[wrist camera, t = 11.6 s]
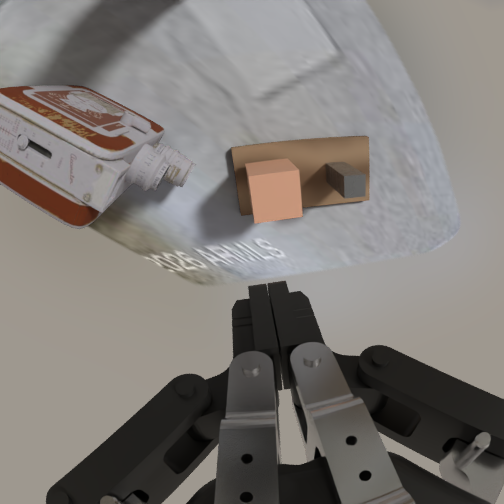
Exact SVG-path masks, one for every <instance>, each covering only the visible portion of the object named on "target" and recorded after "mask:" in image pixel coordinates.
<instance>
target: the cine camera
mask: <svg viewBox="0 0 504 504" xmlns="http://www.w3.org/2000/svg"><path fill="white" fill-rule="evenodd" d="M163 134H164V128H163V127H161V126H160V125H158V124H156V123H155V122H153V121H151V120H149V119H147V118H146V117H144V116H142V115H140V114H138V113H136V112H134V111H132V110H131V109H129V108H127V107H125V106H123V105H121V104H119V103H117V102H115V101H113V100H111V99H109V98H107V97H105V96H103V95H101V94H99V93H97V92H95V91H93V90H91V89H89V88H86V87H83V86H74V85H43V86H19V87H8V88H1V89H0V185H3V186H4V187H6V188H7V189H9V190H10V191H12V192H13V193H15V194H16V195H18V196H19V197H21V198H22V199H24V200H25V201H27V202H29V203H30V204H32V205H33V206H35V207H36V208H38V209H40V210H41V211H43V212H45V213H46V214H48V215H49V216H51V217H53V218H55V219H56V220H58V221H60V222H61V223H63V224H65V225H67V226H70V227H72V228H77V229H81V228H84V227H87V226H88V225H90V224H91V223H93V222H94V221H95V220H96V219H97V218H98V217H99V216H100V215H101V214H102V213H103V212H104V211H105V210H106V209H107V208H108V207H109V206H110V205H111V204H112V203H113V202H114V201H115V200H116V199H117V198H118V197H119V196H120V195H121V194H122V193H123V192H124V191H125V190H126V189H127V188H128V187H130V186H131V185H132V184H136V185H138V186H140V187H142V190H144V191H146V190H148V189H152V190H154V191H156V189H157V188H158V186H159V185H160V183H161V181H162V180H163V179H164V180H165V181H167V182H169V183H171V184H174V185H176V186H180V187H182V186H183V185H184V183H185V182H186V180H187V178H188V177H189V175H190V173H191V172H192V170H193V168H194V166H195V165H196V164H194V163H193V161H191V160H190V159H188V158H186V156H184V155H183V154H181V153H179V151H177V150H173V149H171V148H170V146H169V145H167V146H165V145H163V144H161V143H160V144H158V143H159V141H160V139H161V138H162V136H163Z"/></svg>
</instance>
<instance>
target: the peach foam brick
mask: <svg viewBox="0 0 504 504" xmlns="http://www.w3.org/2000/svg"><path fill="white" fill-rule="evenodd" d="M245 166H246V173H247V180H248V187H249V194H250V202H251V207H252V212H253V217H254V222H255V223H262V222H269V221H276V220H283V219H290V218H297V217H303V214H302V200H301V187H300V175H299V169H298V168H297V167H296V166H295V165H294V164H293V163H292V162H291V161H290V160H289V159H288V158H286V159H277V160H269V161H261V162H254V163H247V164H245Z"/></svg>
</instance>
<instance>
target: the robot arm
mask: <svg viewBox="0 0 504 504" xmlns="http://www.w3.org/2000/svg"><path fill="white" fill-rule="evenodd" d="M248 288H249V297H250V299H243V300H237V301H236V303H235V304H234V306H233V308H232V327H233V329H232V331H233V360H232V362H231V364H230V366H229V368H228V369H227V370H226V371H224V372H223V373H221V374H220V375H217V376H215V377H212V378H209V379H206V380H205V379H204V378H202V377H201V376H199V375H196V374H184V375H180V376H178V377H176V378H174V379H173V380H172V381H170V382H169V383H168V384H167V385H166V386H165V387H164V388H163V389H162V390H161V391H160V392H159V393H158V394H157V395H155V396H154V397H153V398H152V399H151V400H150V401H149V402H148V403H147V404H146V405H145V406H144V407H142V408H141V409H140V410H139V411H138V412H137V413H136V414H135V415H134V416H133V417H131V418H130V419H129V420H128V421H127V422H126V423H125V424H124V425H123V426H121V427H120V428H119V429H118V430H117V431H116V432H115V433H114V434H113V435H111V436H110V437H109V438H108V439H107V440H106V441H105V442H104V443H102V444H101V445H100V446H99V447H98V448H97V449H95V450H94V451H93V452H92V453H91V454H90V455H89V456H87V457H86V458H85V459H84V460H83V461H82V462H81V463H79V464H78V465H77V466H76V467H75V468H74V469H72V470H71V471H70V472H69V473H68V474H66V475H65V476H64V477H63V478H62V479H60V480H59V481H58V482H57V483H56V484H54V485H53V486H52V487H51V488H50V489H49V491H48V493H47V496H46V504H161V503H162V502H163V501H164V500H165V499H166V498H168V497H169V496H170V495H171V494H172V493H173V492H174V490H176V488H177V487H178V486H179V485H180V484H181V483H182V482H183V481H184V480H185V479H186V478H187V477H188V476H189V475H190V474H191V473H192V472H193V471H194V470H195V468H197V467H198V465H199V464H200V463H201V462H202V461H203V460H204V459H205V458H206V457H207V456H208V455H209V453H210V452H211V451H212V450H213V449H214V448H215V447H216V446H217V444H218V443H219V446H218V460H217V473H216V478H215V479H214V480H212V481H210V482H208V483H207V484H205V485H204V486H203V487H202V488H200V489H199V490H198V491H197V492H196V493H195V494H194V496H193V497H192V498H191V499H190V500H189V501H188V502H187V503H186V504H495V502H496V500H497V498H498V496H499V494H500V491H501V489H502V487H503V485H504V399H501V398H499V397H497V396H495V395H492V394H490V393H488V392H486V391H483V390H481V389H479V388H477V387H474V386H472V385H470V384H468V383H466V382H463V381H461V380H458V379H457V378H454V377H452V376H450V375H448V374H446V373H443V372H441V371H439V370H437V369H435V368H433V367H430V366H428V365H426V364H424V363H422V362H419V361H418V360H415V359H413V358H411V357H409V356H407V355H405V354H402V353H400V352H398V351H396V350H394V349H392V348H390V347H387V346H383V345H375V346H371V347H368V348H367V349H365V350H364V351H363V352H362V353H361V355H360V356H347V355H340V354H337V353H335V352H333V351H331V349H330V348H329V347H327V346H326V345H325V343H324V340H323V338H322V335H321V332H320V329H319V326H318V324H317V321H316V318H315V316H314V312H313V310H312V308H311V304H310V302H309V299H308V297H306V296H305V295H304V294H303V293H302V292H301V291H297V292H291V293H289V291H288V287H287V284H286V281H280V282H273V283H268V291H267V285H266V284H260V285H253V286H249V287H248ZM268 293H269V296H268ZM281 375H282V380H283V385H284V389H291V394H292V405H293V409H294V413H295V416H296V419H297V423H298V426H299V430H300V433H301V436H302V440H303V443H304V447H305V451H306V457H307V463H304V464H301V465H288V464H282V462H281V448H280V431H279V415H278V407H279V395H278V390H282V380H281ZM378 432H380V433H382V434H384V435H386V436H387V437H389V438H391V439H393V440H395V441H396V442H399V443H400V444H402V445H404V446H406V447H408V448H410V449H412V450H414V451H415V452H417V453H420V454H421V455H423V456H425V457H427V458H429V459H431V460H433V461H435V462H437V463H439V464H440V466H439V469H440V473H441V476H442V478H443V479H444V480H443V479H441V478H439V477H438V476H435V475H434V474H432V473H430V472H428V471H427V470H425V469H423V468H421V467H419V466H418V465H416V464H414V463H412V462H411V461H409V460H407V459H405V458H404V457H402V456H400V455H397V454H395V453H392V452H388V451H386V448H385V446H384V444H383V442H382V439H381V438H380V435H379V433H378ZM445 480H446V481H445Z"/></svg>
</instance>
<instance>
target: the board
mask: <svg viewBox="0 0 504 504" xmlns="http://www.w3.org/2000/svg"><path fill="white" fill-rule="evenodd" d="M231 150H232V157H233V164H234V171H235V178H236V185H237V191H238V198H239V205H240V212H241V216H243V215H250V214H253V212H252V207H251V202H250V194H249V187H248V180H247V173H246V166H245V164H247V163H254V162H261V161H269V160H277V159H286V158H288V159H289V160H290V161H291V162H292V163H293V164H294V165H295V166H296V167H297V168H298V169H299V175H300V187H301V200H302V208H304V207H312V206H321V205H329V204H338V203H347V202H357V201H366V200H369V137H368V136H348V137H329V138H314V139H301V140H290V141H280V142H271V143H262V144H254V145H246V146H238V147H231ZM332 162H346V163H347V164H349V165H351V166H353V167H354V168H356V169H358V170H359V171H361V172H362V173H364V174H366V197H356V198H346V199H344V198H343V197H342V196H341V195H340V194H339V193H338V192H337V191H336V190H335V189H334V188H332V187H331V186H330V185H329V184H328V183H327V182H326V163H332Z"/></svg>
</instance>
